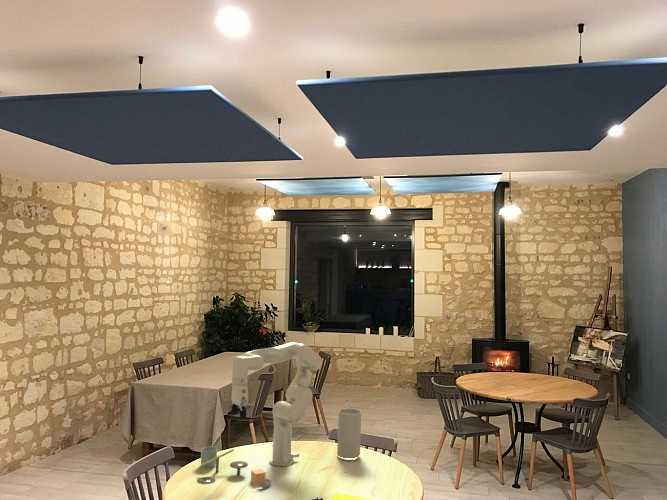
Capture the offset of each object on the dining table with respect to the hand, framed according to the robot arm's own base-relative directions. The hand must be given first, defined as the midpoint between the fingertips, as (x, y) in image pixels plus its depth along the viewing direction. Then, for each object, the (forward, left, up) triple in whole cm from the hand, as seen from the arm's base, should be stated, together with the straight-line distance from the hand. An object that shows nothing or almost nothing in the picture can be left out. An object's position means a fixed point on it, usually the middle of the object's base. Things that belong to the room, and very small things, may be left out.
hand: (238, 416), depth 261 cm
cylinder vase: (-64, +3, -29) cm, 70 cm away
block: (-4, +16, -27) cm, 32 cm away
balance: (+9, +1, -28) cm, 30 cm away
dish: (-4, +16, -29) cm, 33 cm away
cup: (+10, -14, -29) cm, 33 cm away
